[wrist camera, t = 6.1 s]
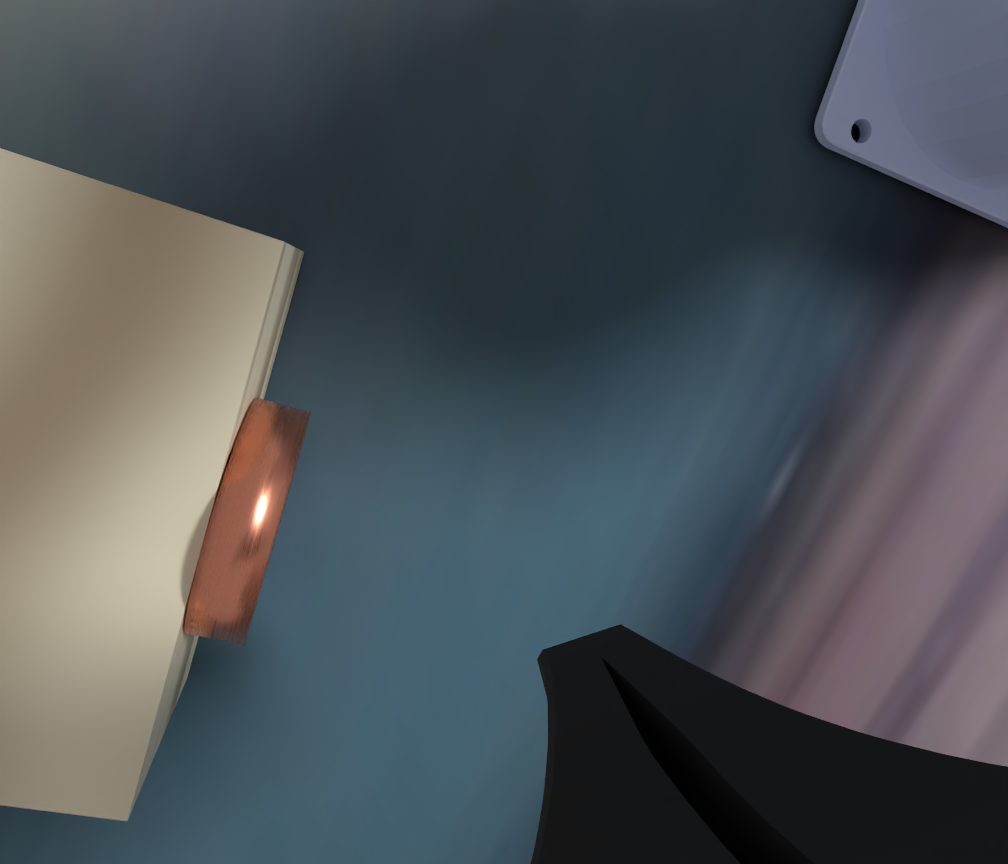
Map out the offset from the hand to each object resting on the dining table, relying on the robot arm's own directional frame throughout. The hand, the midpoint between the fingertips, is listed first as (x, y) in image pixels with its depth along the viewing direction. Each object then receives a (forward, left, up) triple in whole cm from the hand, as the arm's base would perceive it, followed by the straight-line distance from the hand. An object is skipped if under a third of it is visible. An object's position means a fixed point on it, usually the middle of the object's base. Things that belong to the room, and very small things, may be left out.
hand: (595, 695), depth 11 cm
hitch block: (+9, 0, -7) cm, 12 cm away
